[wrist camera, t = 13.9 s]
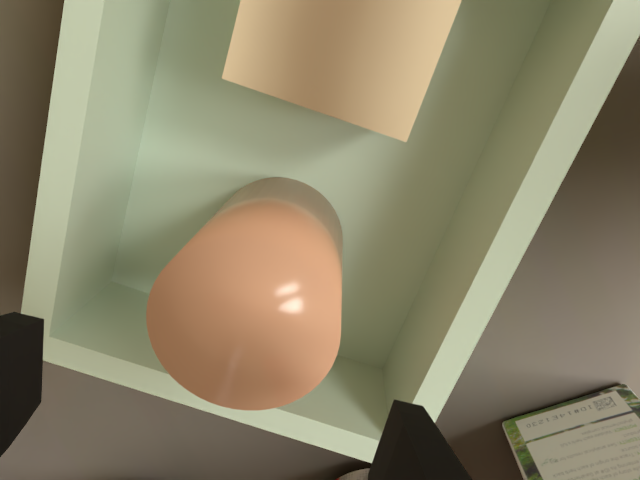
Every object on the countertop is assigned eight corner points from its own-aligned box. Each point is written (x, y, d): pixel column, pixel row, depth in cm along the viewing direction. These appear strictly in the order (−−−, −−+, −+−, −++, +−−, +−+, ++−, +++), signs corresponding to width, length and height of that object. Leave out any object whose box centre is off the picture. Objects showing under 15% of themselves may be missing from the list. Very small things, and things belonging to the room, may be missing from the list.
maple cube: (445, -26, 15) (489, -71, 11) (389, 123, 17) (406, 142, 12) (298, -80, 15) (277, -151, 10) (256, 77, 17) (221, 78, 12)
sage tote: (600, -48, 15) (711, -102, 11) (393, 386, 21) (407, 474, 17) (187, -211, 15) (113, -346, 10) (91, 288, 21) (15, 351, 16)
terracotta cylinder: (353, 188, 18) (357, 255, 11) (331, 306, 20) (324, 424, 13) (222, 167, 18) (149, 220, 11) (211, 286, 20) (142, 394, 13)
